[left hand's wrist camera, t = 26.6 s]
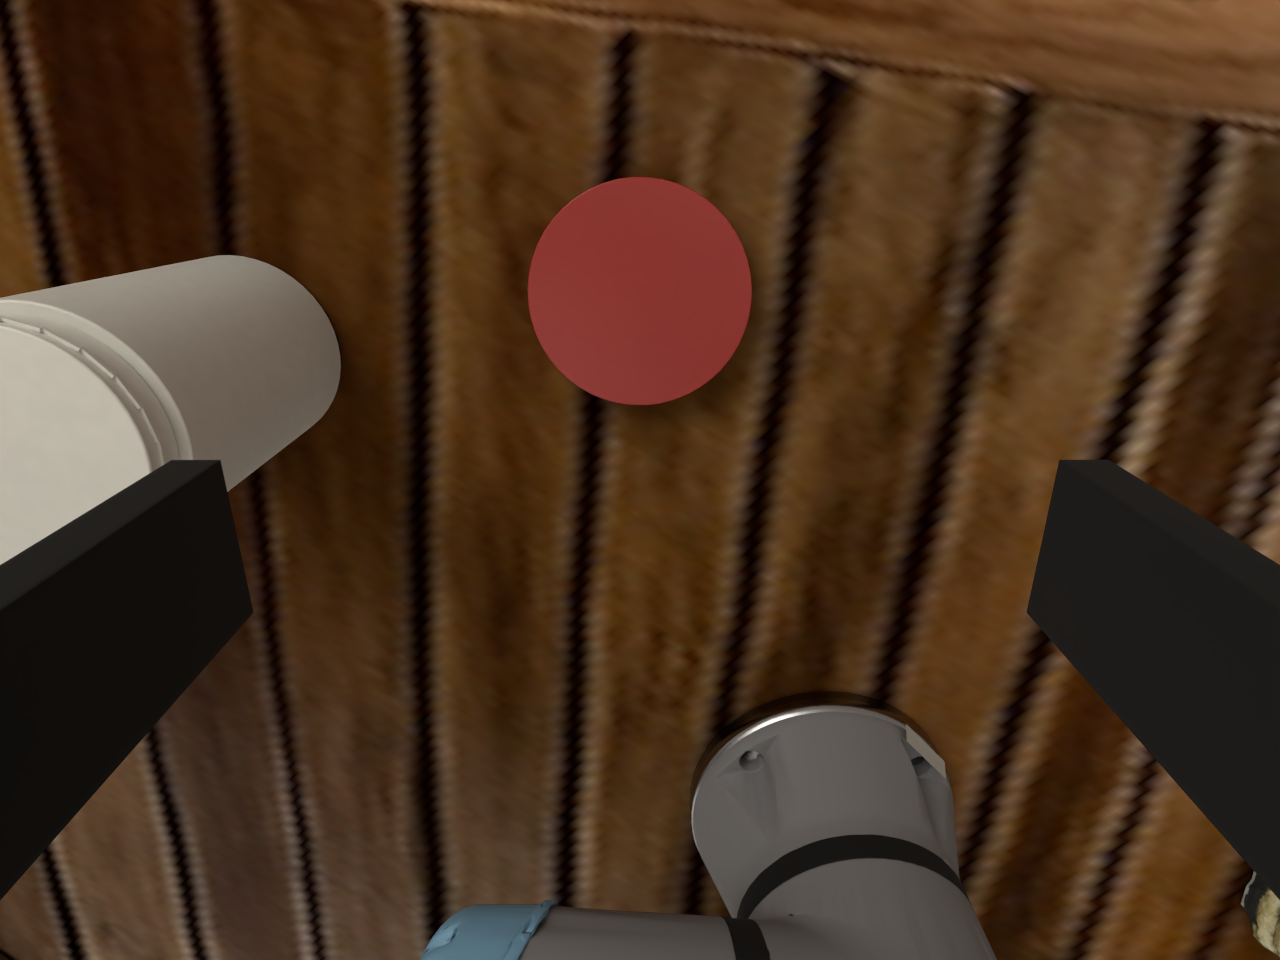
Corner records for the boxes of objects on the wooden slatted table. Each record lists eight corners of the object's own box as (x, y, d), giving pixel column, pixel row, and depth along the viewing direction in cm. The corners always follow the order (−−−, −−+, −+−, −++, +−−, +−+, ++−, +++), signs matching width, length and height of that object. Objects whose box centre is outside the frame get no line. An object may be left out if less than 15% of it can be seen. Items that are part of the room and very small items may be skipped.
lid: (520, 184, 34) (514, 185, 32) (745, 168, 34) (750, 168, 32) (545, 401, 38) (540, 412, 36) (748, 388, 38) (753, 398, 36)
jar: (371, 321, 36) (207, 412, 23) (298, 472, 39) (112, 636, 25) (187, 215, 35) (-113, 244, 21) (124, 382, 37) (-177, 505, 24)
